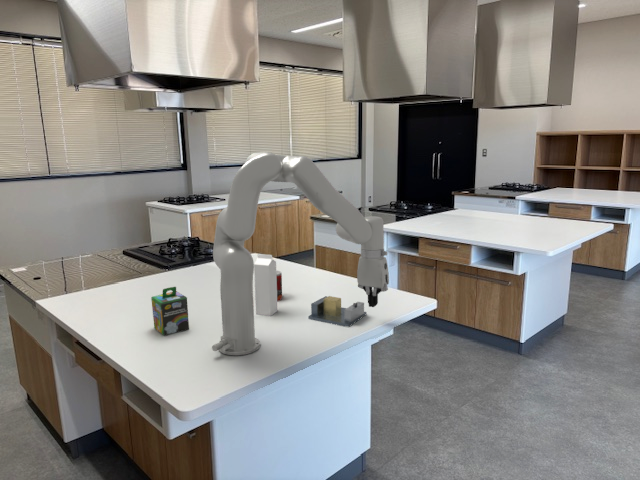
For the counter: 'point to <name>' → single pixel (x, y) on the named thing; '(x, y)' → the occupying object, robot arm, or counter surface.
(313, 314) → the vise
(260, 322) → the counter surface
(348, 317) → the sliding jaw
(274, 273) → the milk
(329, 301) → the brass block
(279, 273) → the canned food
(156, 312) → the chalk box
